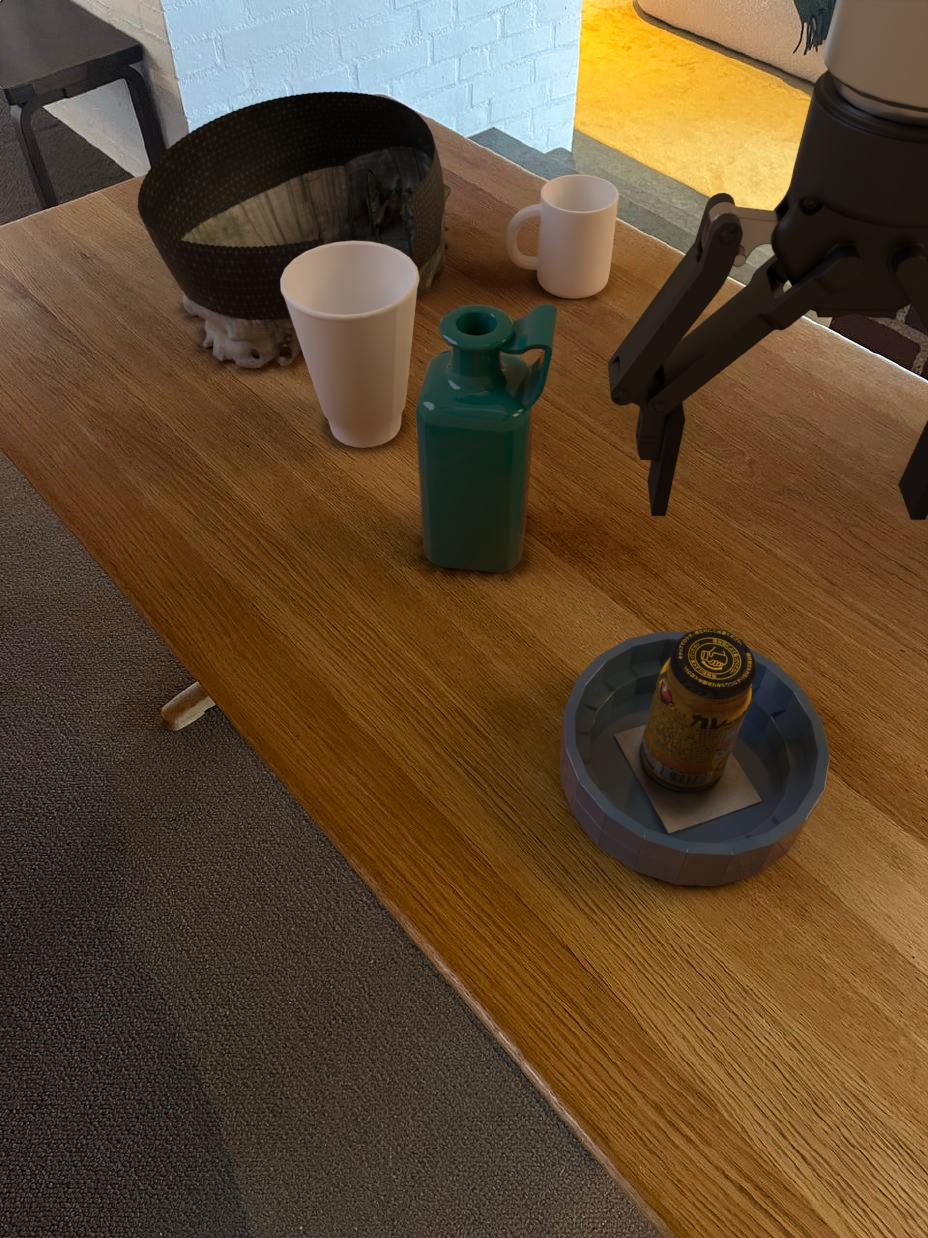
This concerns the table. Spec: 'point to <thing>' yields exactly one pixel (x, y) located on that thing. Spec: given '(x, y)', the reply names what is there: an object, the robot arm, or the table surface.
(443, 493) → the pitcher
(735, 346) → the robot arm
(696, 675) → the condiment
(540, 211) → the mug
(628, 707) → the bowl
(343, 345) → the cup
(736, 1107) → the table surface
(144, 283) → the table surface
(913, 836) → the table surface
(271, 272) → the basket
